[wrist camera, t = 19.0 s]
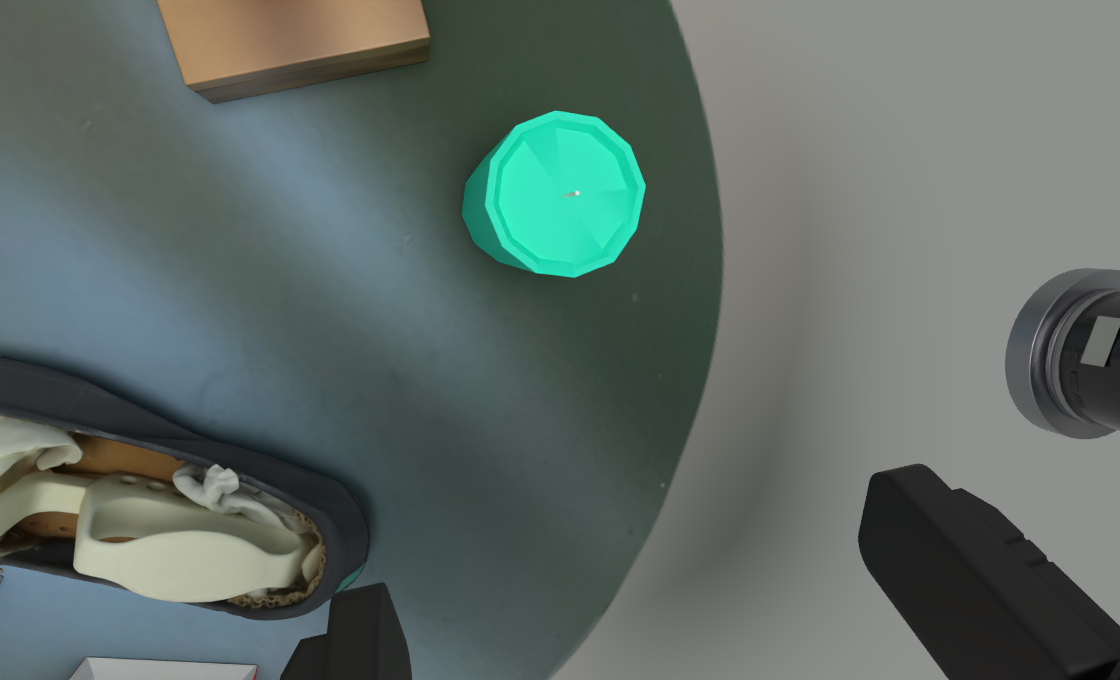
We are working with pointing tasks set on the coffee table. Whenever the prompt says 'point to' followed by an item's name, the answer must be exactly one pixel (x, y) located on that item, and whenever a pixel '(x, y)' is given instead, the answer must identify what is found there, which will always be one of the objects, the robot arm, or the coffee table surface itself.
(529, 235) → the candle
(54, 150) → the coffee table surface
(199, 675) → the red white cube box
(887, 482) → the robot arm
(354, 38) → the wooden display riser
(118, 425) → the ballet flat
